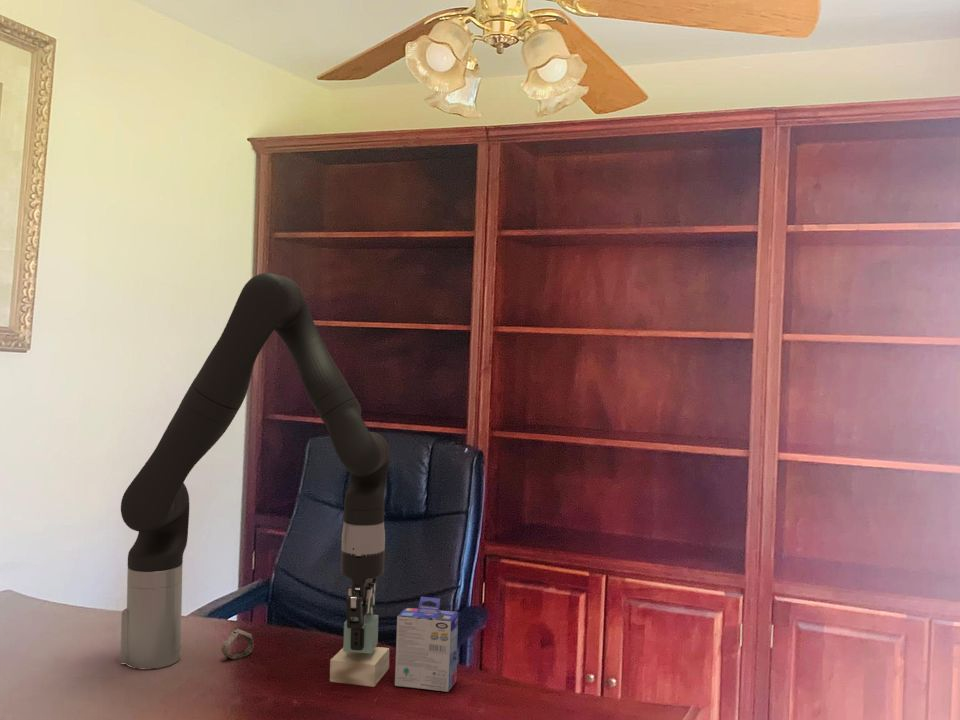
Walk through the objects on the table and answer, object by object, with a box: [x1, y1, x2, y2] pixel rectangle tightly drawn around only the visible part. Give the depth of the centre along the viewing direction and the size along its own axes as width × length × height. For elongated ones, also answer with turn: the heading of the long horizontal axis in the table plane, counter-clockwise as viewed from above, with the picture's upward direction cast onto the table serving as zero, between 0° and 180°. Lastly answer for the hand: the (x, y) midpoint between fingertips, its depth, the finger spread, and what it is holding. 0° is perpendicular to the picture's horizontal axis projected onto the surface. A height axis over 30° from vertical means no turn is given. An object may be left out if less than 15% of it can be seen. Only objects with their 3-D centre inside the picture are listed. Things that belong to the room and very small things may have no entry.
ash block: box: [329, 646, 390, 687], centre depth 144 cm, size 8×8×4 cm
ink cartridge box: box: [394, 596, 459, 693], centre depth 141 cm, size 10×6×14 cm, turn 78°
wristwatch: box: [221, 628, 255, 660], centre depth 151 cm, size 4×6×5 cm, turn 144°
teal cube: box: [342, 614, 379, 653], centre depth 144 cm, size 5×5×5 cm
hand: (360, 643), depth 144 cm, fingers closed on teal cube, 5 cm apart
